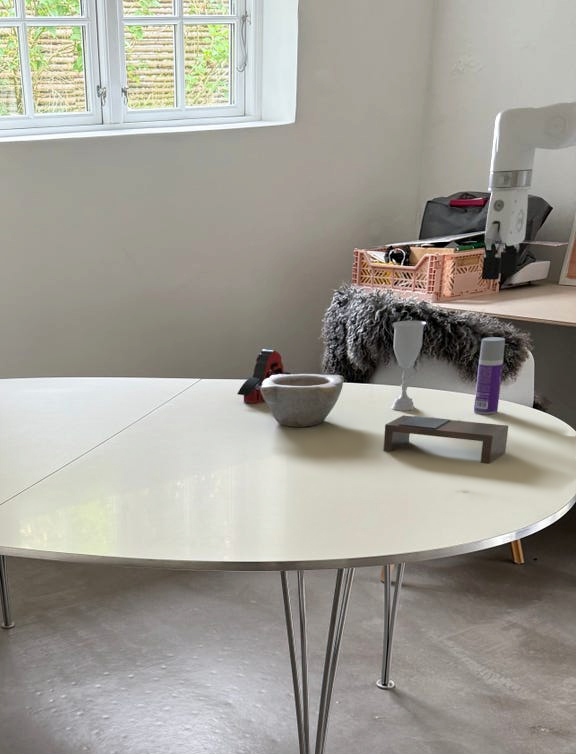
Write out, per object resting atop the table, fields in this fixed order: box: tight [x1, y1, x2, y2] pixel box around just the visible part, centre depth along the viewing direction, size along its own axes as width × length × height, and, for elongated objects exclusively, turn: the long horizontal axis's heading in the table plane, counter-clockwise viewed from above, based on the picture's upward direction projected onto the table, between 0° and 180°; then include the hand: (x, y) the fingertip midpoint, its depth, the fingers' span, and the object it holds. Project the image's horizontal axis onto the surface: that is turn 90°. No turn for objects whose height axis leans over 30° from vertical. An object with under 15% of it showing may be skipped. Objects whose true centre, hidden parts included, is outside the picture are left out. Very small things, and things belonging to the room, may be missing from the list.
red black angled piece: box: [236, 349, 292, 404], centre depth 226 cm, size 18×4×11 cm, turn 129°
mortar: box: [261, 373, 345, 428], centre depth 203 cm, size 17×17×9 cm
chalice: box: [390, 320, 427, 412], centre depth 206 cm, size 7×7×18 cm
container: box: [473, 336, 506, 415], centre depth 198 cm, size 5×5×15 cm
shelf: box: [383, 414, 509, 464], centre depth 176 cm, size 20×8×5 cm, turn 50°
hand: (498, 276), depth 190 cm, fingers open, 9 cm apart
